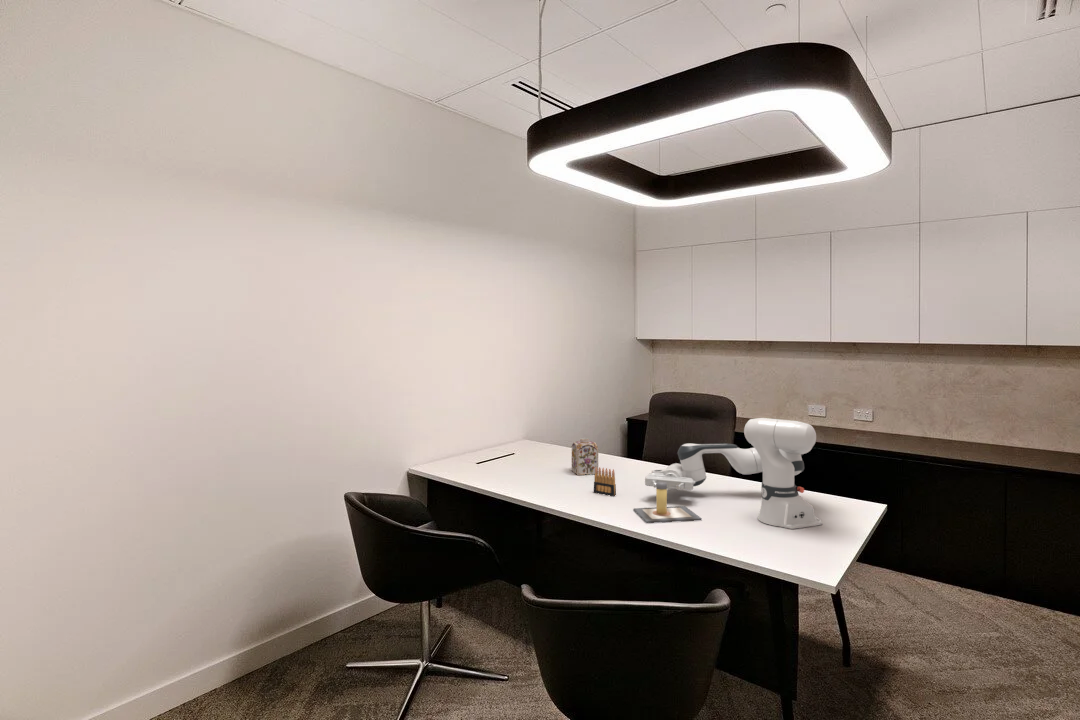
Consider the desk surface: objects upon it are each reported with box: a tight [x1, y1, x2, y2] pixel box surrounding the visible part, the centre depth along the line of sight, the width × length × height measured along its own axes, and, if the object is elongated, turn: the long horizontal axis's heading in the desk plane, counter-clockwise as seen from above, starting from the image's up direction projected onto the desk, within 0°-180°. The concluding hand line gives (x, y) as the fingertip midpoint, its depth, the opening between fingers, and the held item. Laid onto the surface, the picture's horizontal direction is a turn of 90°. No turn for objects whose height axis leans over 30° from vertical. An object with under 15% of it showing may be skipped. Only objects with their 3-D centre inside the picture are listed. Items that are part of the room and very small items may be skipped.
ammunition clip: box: [593, 466, 617, 497], centre depth 248 cm, size 11×2×12 cm, turn 53°
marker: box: [655, 482, 668, 515], centre depth 217 cm, size 4×4×12 cm
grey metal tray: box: [632, 505, 702, 524], centre depth 218 cm, size 22×16×1 cm
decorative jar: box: [571, 437, 599, 476], centre depth 288 cm, size 12×12×18 cm
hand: (666, 486), depth 228 cm, fingers open, 8 cm apart
